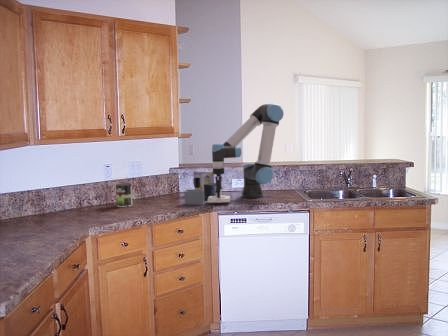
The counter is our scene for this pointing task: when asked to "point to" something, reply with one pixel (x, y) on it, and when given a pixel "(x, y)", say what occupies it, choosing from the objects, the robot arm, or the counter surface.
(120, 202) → the multicoloured piece
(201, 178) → the cake pan box
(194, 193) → the tub
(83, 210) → the counter surface
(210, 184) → the small box
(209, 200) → the lid
